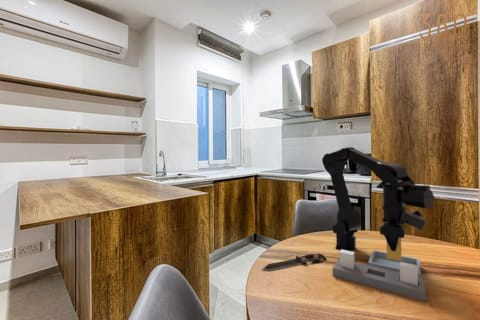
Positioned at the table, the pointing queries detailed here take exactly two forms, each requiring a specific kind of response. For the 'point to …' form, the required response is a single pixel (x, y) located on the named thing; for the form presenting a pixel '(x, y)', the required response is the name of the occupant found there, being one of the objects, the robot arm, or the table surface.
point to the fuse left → (347, 259)
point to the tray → (391, 261)
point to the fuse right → (409, 273)
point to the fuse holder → (381, 280)
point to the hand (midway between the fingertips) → (393, 249)
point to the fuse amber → (394, 254)
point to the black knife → (293, 262)
